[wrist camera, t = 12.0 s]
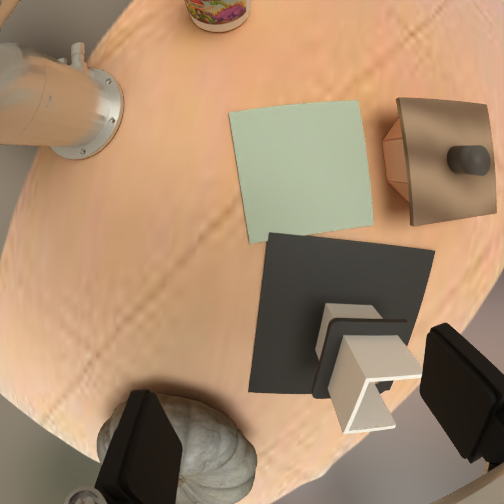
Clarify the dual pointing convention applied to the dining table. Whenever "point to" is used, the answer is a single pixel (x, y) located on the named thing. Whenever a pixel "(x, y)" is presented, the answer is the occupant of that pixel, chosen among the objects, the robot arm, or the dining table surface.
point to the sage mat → (302, 168)
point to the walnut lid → (447, 159)
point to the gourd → (201, 451)
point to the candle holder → (339, 323)
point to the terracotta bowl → (395, 160)
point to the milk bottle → (218, 13)
